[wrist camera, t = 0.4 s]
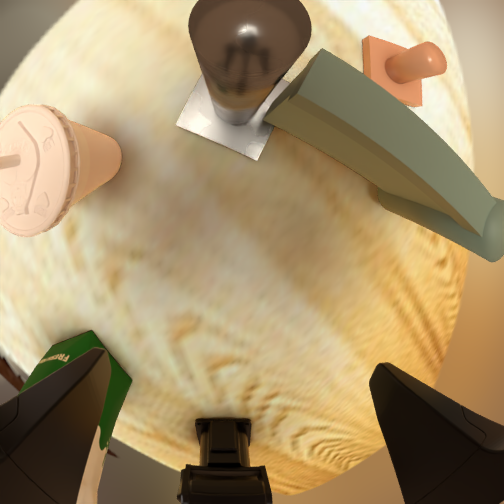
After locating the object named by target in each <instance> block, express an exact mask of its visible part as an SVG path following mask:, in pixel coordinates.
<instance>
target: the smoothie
mask: <svg viewBox="0 0 504 504" xmlns="http://www.w3.org/2000/svg"><path fill="white" fill-rule="evenodd" d="M121 161H122V153H121V149H120V146H119V145H118V143H117V142H116V141H115V140H114V139H113V138H112V137H110V136H107V135H105V134H102V133H100V132H98V131H95V130H93V129H90V128H88V127H85V126H83V125H80V124H78V123H75V122H73V121H70V120H68V119H67V118H66V116H65V115H64V114H63V113H61V112H60V111H59V110H57V109H56V108H54V107H51V106H47V105H32V104H30V105H25V106H21V107H19V108H17V109H15V110H14V111H12V112H11V113H10V114H8V115H7V116H6V117H5V118H4V119H3V121H2V122H1V123H0V224H1V225H2V226H3V227H4V228H5V229H6V230H8V231H9V232H11V233H13V234H15V235H17V236H21V237H32V236H35V235H38V234H40V233H42V232H46V231H48V230H50V229H51V228H53V227H54V226H56V225H58V224H59V222H60V221H61V220H62V219H63V218H64V216H65V215H66V214H67V213H68V211H69V209H70V207H71V206H73V205H74V204H75V203H77V202H78V201H79V200H81V199H82V198H84V197H85V196H87V195H88V194H89V193H91V192H92V191H94V190H95V189H97V188H98V187H100V186H101V185H103V184H104V183H106V182H107V181H109V180H111V179H112V178H113V177H114V176H115V175H116V174H117V172H118V170H119V168H120V166H121Z"/></svg>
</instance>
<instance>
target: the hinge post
mask: <svg viewBox="0 0 504 504" xmlns="http://www.w3.org/2000/svg"><path fill="white" fill-rule="evenodd" d="M188 27H189V34H190V37H191V40H192V43H193V47H194V50H195V53H196V56H197V59H198V62H199V65H200V68H201V71H202V75H201V76H200V78H199V80H198V82H197V84H196V85H195V87H194V89H193V91H192V93H191V95H190V97H189V99H188V100H187V102H186V104H185V106H184V108H183V110H182V112H181V114H180V116H179V118H178V120H177V122H176V126H178V127H181V128H183V129H186V130H188V131H190V132H193V133H195V134H198V135H200V136H202V137H205V138H207V139H209V140H212V141H214V142H216V143H219V144H221V145H223V146H225V147H228V148H230V149H232V150H234V151H236V152H239V153H241V154H243V155H245V156H247V157H249V158H251V159H253V160H256V161H257V160H258V158H259V156H260V154H261V152H262V150H263V148H264V146H265V144H266V142H267V140H268V138H269V136H270V134H271V132H272V131H273V129H274V127H275V126H274V125H272V124H270V123H268V122H266V121H264V120H263V118H264V116H265V115H266V113H267V111H268V109H269V107H270V105H271V103H272V102H273V101H274V100H275V99H276V98H277V97H278V96H279V95H280V94H281V92H282V91H283V90H284V89H285V88H286V87H287V86H288V85H289V84H290V83H289V82H287V81H285V80H283V79H282V78H283V76H284V75H285V74H286V73H287V71H288V70H289V69H290V68H291V66H292V65H293V64H294V63H295V61H296V60H297V59H298V58H299V56H300V55H301V54H302V53H303V51H304V50H305V48H306V47H307V45H308V43H309V41H310V37H311V30H312V29H311V21H310V17H309V15H308V12H307V10H306V9H305V7H304V6H303V4H302V3H301V2H300V1H299V0H199V1H198V2H197V3H196V4H195V6H194V7H193V9H192V12H191V14H190V18H189V25H188Z"/></svg>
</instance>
